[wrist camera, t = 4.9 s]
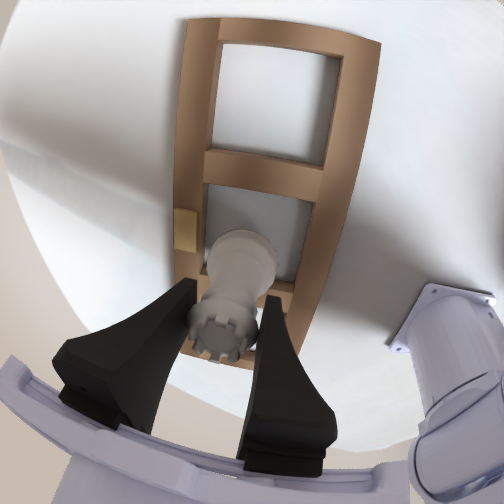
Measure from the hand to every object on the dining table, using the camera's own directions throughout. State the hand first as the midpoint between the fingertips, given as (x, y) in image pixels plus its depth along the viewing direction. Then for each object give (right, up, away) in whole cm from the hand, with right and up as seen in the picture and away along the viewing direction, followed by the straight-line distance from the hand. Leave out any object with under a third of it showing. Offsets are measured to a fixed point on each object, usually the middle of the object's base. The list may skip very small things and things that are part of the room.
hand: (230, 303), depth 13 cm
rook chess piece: (+1, +2, +5) cm, 6 cm away
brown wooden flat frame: (+1, +4, +6) cm, 7 cm away
